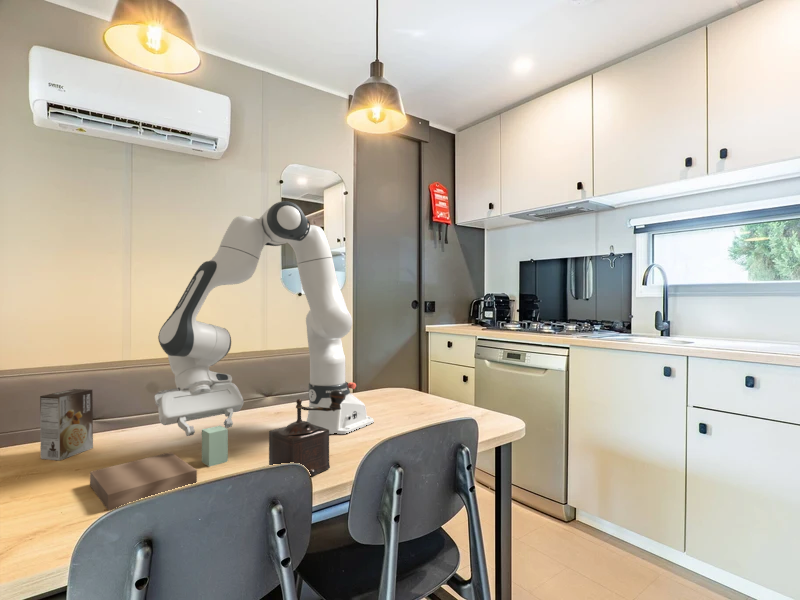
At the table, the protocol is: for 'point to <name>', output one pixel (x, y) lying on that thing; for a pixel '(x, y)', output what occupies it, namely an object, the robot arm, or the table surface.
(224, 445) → the sage block
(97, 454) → the table surface
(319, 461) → the manual coffee grinder
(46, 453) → the coffee box
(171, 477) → the walnut platform
